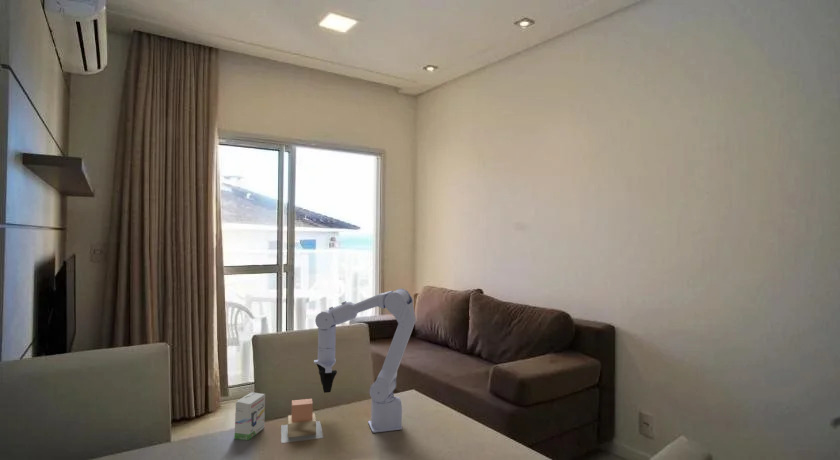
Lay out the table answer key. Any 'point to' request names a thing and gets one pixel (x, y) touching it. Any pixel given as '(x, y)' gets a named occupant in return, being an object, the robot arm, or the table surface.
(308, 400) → the terracotta brick
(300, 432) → the maple brick
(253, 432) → the ink box
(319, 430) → the base plate
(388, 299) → the robot arm
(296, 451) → the table surface
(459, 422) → the table surface
